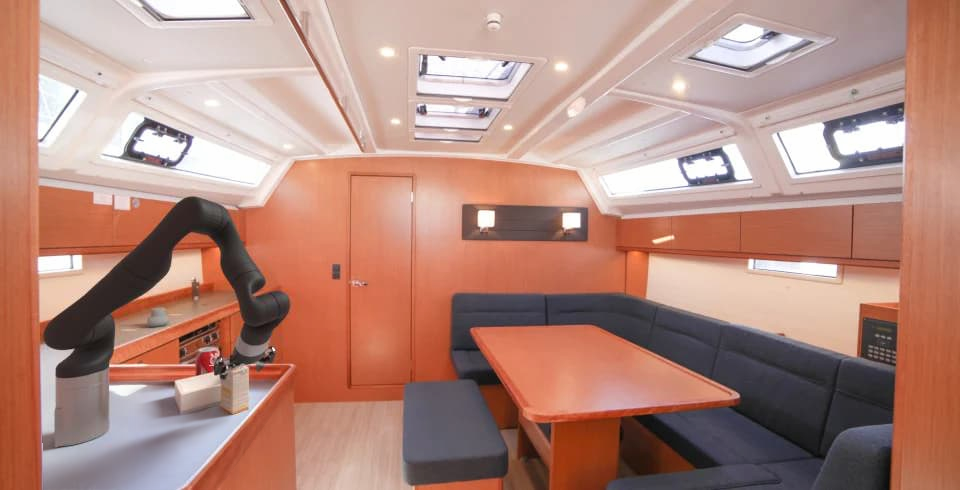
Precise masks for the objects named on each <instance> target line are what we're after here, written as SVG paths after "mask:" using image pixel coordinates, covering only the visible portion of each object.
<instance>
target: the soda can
mask: <svg viewBox="0 0 960 490" xmlns="http://www.w3.org/2000/svg"><path fill="white" fill-rule="evenodd" d="M219 356H221V351H220V350H219V347H218V346H214V345H213V346H206V347H201V348H199V349H197V353H196V354H195V376H199V375H203V374H208V373H212V372H214V370H213V366H209V365H214V363H215V361H216V359H217V357H219Z"/></svg>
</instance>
